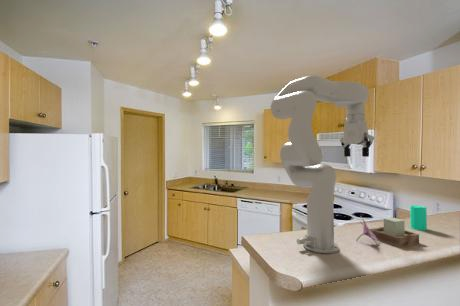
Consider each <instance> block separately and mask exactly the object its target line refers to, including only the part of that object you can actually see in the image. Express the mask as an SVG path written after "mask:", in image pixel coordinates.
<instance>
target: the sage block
mask: <svg viewBox="0 0 460 306" xmlns="http://www.w3.org/2000/svg"><path fill="white" fill-rule="evenodd" d="M405 226H406V225H405V220H404V219H401V218H400V219H399V218H396V217H385V218H383V227H384V233H386V234H389V235H392V236H395V237H398V236H405V231H406V230H405V228H406V227H405Z"/></svg>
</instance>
